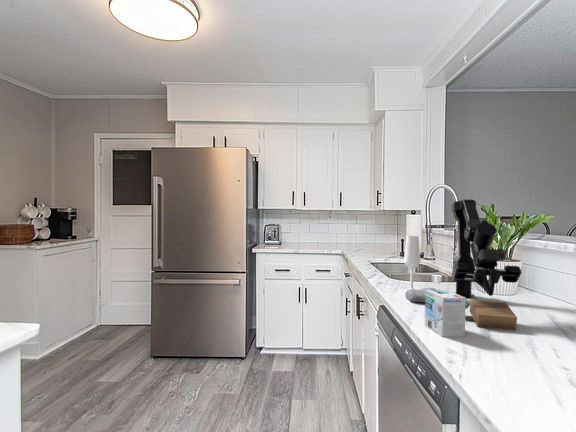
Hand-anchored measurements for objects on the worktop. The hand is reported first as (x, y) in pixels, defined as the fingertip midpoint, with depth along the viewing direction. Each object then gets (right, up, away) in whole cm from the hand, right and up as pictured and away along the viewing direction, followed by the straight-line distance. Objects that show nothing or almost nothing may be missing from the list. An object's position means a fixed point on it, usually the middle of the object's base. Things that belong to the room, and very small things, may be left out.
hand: (491, 295), depth 108 cm
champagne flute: (-10, -8, +41) cm, 43 cm away
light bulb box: (-18, -9, -8) cm, 22 cm away
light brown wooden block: (+1, -5, +3) cm, 6 cm away
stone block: (-11, -8, +26) cm, 29 cm away
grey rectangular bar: (0, -9, +1) cm, 9 cm away
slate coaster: (-1, -8, +22) cm, 24 cm away
